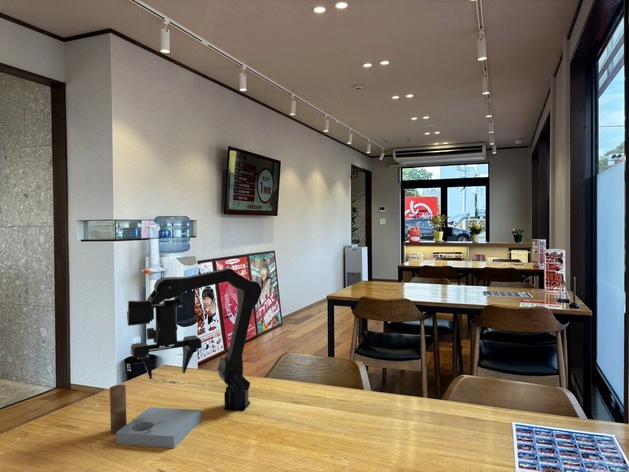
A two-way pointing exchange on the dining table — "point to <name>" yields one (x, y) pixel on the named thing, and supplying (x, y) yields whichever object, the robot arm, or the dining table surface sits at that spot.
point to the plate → (159, 427)
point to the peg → (118, 407)
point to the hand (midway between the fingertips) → (167, 375)
